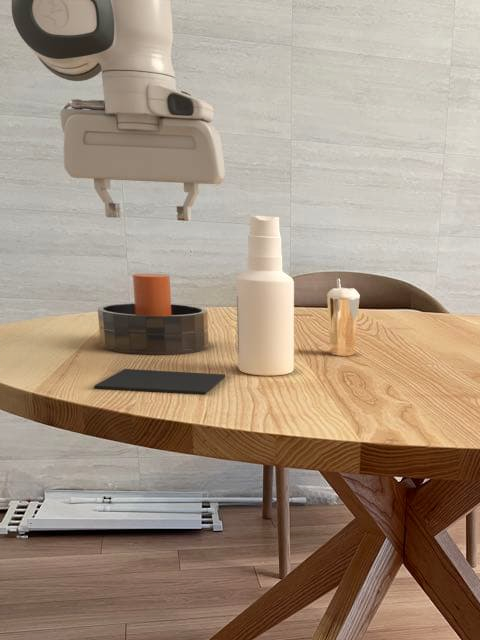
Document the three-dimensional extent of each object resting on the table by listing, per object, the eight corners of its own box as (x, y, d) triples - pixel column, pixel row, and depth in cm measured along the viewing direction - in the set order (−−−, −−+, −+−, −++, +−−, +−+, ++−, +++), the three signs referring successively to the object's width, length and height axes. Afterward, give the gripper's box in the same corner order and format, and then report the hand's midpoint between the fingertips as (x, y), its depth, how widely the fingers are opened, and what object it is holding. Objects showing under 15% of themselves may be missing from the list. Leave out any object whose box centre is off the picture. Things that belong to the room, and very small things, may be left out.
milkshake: (351, 350, 121) (353, 279, 117) (361, 356, 116) (364, 283, 112) (321, 350, 119) (322, 278, 116) (330, 356, 115) (331, 282, 111)
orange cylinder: (132, 343, 113) (127, 275, 110) (143, 338, 118) (139, 272, 114) (167, 345, 113) (163, 277, 110) (177, 340, 118) (173, 274, 114)
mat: (94, 388, 89) (94, 385, 89) (124, 371, 98) (124, 368, 98) (205, 394, 89) (205, 391, 89) (225, 376, 98) (225, 374, 98)
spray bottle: (292, 366, 107) (292, 217, 100) (295, 376, 100) (295, 218, 94) (238, 365, 105) (235, 214, 99) (238, 375, 99) (234, 215, 92)
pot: (85, 351, 109) (81, 312, 107) (121, 335, 122) (118, 300, 121) (193, 357, 109) (192, 318, 107) (218, 341, 123) (217, 306, 121)
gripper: (48, 95, 101) (61, 215, 107) (214, 102, 102) (219, 223, 107) (68, 101, 107) (80, 215, 113) (225, 108, 107) (229, 222, 113)
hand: (149, 219), depth 110 cm, fingers open, 8 cm apart
